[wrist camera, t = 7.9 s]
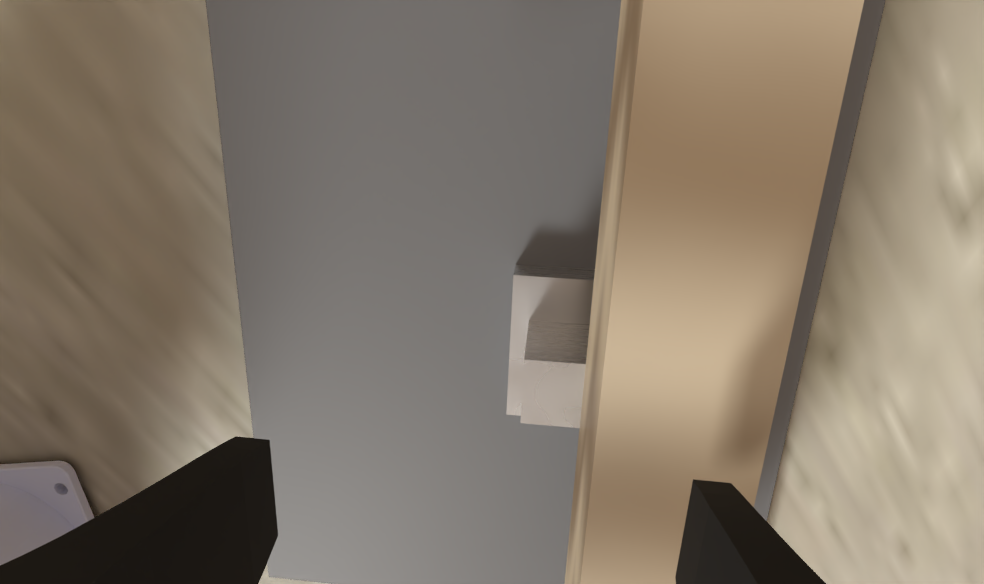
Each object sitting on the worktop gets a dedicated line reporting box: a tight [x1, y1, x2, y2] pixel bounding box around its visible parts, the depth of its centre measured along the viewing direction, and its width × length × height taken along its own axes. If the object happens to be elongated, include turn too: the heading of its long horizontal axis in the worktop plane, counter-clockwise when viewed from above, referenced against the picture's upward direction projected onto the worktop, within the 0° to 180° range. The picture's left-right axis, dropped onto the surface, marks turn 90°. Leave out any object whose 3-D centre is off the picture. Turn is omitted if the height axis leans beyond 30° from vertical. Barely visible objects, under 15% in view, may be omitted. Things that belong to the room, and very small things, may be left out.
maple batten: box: [564, 0, 864, 584], centre depth 14 cm, size 20×3×4 cm, turn 178°
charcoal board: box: [206, 0, 885, 584], centre depth 20 cm, size 21×17×1 cm
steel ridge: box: [506, 264, 595, 428], centre depth 17 cm, size 4×7×4 cm, turn 88°
